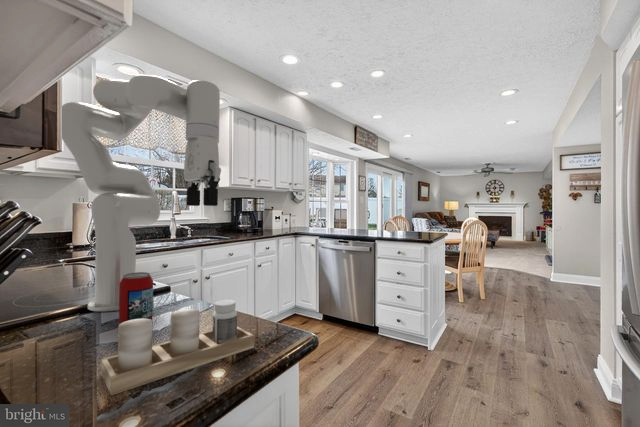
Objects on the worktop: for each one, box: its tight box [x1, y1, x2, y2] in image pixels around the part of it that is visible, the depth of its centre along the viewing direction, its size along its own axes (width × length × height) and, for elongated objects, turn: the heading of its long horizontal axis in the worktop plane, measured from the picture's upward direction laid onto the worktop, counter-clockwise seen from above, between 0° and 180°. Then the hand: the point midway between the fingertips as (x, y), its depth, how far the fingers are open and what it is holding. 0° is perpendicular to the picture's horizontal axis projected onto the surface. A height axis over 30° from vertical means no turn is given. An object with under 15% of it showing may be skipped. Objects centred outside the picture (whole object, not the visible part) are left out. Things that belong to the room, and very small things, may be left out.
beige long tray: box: [100, 308, 255, 396], centre depth 57 cm, size 8×24×8 cm, turn 134°
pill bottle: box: [212, 299, 238, 344], centre depth 62 cm, size 5×5×8 cm
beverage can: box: [118, 271, 154, 325], centre depth 72 cm, size 7×7×12 cm
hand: (201, 205), depth 76 cm, fingers open, 9 cm apart
